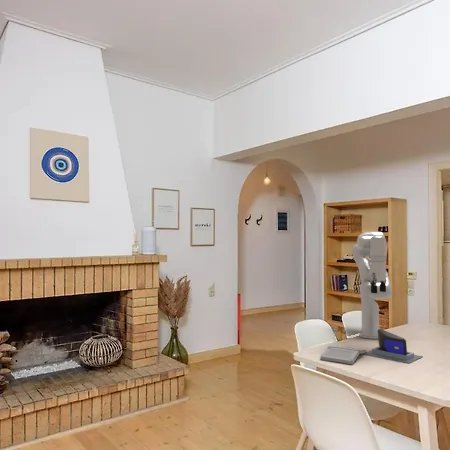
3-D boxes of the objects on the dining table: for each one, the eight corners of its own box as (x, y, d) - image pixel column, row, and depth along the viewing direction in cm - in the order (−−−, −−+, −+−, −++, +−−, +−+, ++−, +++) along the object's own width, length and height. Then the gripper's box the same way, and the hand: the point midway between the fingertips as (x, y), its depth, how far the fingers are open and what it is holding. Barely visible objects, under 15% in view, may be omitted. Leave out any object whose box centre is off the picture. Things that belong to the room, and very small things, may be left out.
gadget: (336, 349, 210) (336, 341, 210) (366, 353, 201) (366, 345, 201) (319, 359, 191) (319, 351, 191) (352, 365, 182) (352, 356, 182)
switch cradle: (378, 348, 212) (378, 344, 212) (422, 357, 196) (422, 352, 196) (363, 354, 201) (363, 349, 201) (408, 363, 185) (408, 358, 185)
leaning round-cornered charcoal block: (374, 348, 205) (372, 330, 203) (380, 345, 207) (379, 327, 205) (401, 360, 191) (399, 341, 189) (408, 356, 193) (406, 338, 191)
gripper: (378, 259, 225) (379, 290, 224) (363, 259, 213) (363, 293, 212) (392, 259, 220) (392, 291, 219) (377, 260, 208) (377, 294, 207)
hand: (378, 292), depth 216 cm, fingers open, 9 cm apart
